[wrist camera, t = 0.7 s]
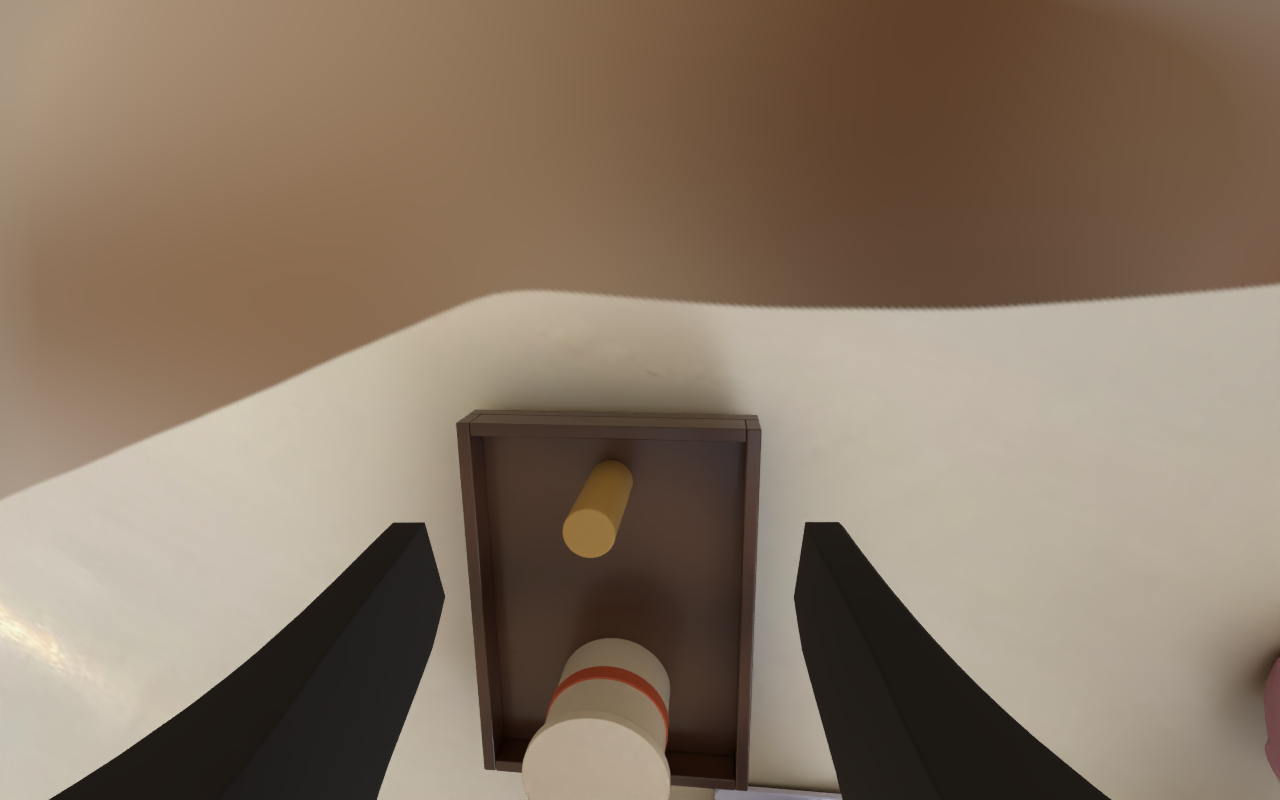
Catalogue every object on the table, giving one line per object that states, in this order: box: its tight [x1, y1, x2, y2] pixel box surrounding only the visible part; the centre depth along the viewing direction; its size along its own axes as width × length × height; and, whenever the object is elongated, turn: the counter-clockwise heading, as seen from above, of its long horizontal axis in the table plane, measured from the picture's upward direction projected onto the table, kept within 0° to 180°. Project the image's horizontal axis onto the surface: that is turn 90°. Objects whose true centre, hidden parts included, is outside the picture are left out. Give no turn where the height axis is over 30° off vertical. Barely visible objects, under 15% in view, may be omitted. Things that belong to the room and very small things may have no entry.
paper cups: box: [522, 638, 671, 800], centre depth 28 cm, size 6×6×6 cm
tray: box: [456, 410, 761, 791], centre depth 28 cm, size 18×13×6 cm
